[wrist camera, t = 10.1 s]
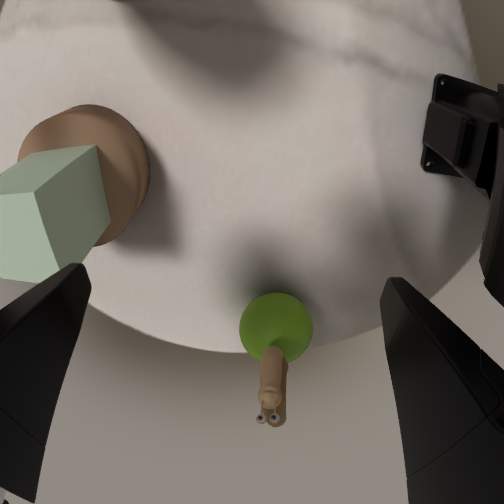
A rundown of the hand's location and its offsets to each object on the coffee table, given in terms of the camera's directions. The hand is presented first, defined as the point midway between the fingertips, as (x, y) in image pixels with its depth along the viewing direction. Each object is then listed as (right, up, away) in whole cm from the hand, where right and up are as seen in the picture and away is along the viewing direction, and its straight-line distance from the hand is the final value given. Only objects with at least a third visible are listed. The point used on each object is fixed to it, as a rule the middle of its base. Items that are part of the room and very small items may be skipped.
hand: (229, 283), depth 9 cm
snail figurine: (+3, -3, +17) cm, 17 cm away
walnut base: (-10, +7, +11) cm, 16 cm away
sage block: (-10, +5, +8) cm, 14 cm away
